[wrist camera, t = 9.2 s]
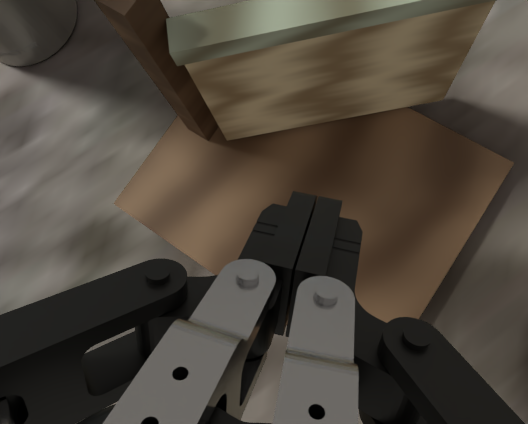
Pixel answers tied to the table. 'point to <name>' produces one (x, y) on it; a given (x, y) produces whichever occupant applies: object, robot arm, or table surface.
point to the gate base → (308, 179)
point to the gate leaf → (321, 57)
